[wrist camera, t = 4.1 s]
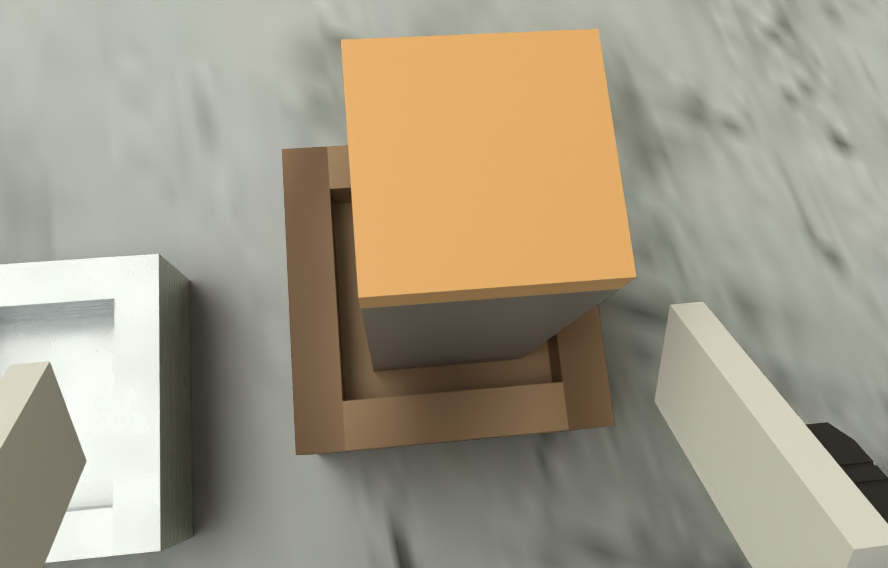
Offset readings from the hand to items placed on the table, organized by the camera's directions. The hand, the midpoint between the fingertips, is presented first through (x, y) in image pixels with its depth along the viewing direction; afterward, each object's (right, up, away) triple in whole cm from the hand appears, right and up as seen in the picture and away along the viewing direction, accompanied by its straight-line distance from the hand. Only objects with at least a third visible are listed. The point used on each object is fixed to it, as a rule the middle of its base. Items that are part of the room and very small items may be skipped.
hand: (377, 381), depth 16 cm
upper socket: (+1, +1, +14) cm, 14 cm away
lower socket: (-13, -3, +12) cm, 18 cm away
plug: (+1, +2, +9) cm, 9 cm away
